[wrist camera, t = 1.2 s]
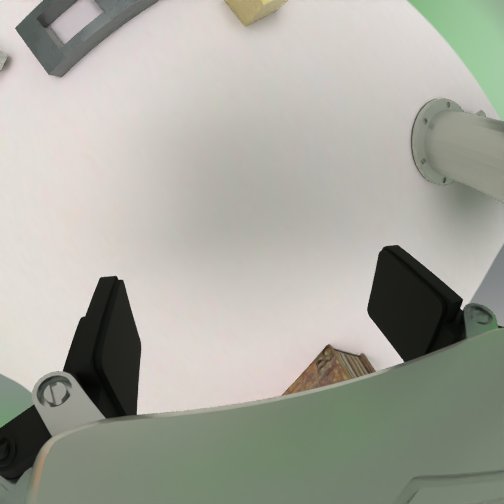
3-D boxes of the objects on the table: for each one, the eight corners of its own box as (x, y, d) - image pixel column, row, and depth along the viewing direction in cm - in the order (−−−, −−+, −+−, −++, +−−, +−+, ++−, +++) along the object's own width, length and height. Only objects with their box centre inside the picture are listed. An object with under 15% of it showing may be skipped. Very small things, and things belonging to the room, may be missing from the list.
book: (329, 342, 48) (418, 502, 21) (363, 353, 51) (448, 486, 25) (249, 427, 55) (287, 560, 29) (285, 431, 58) (328, 549, 32)
